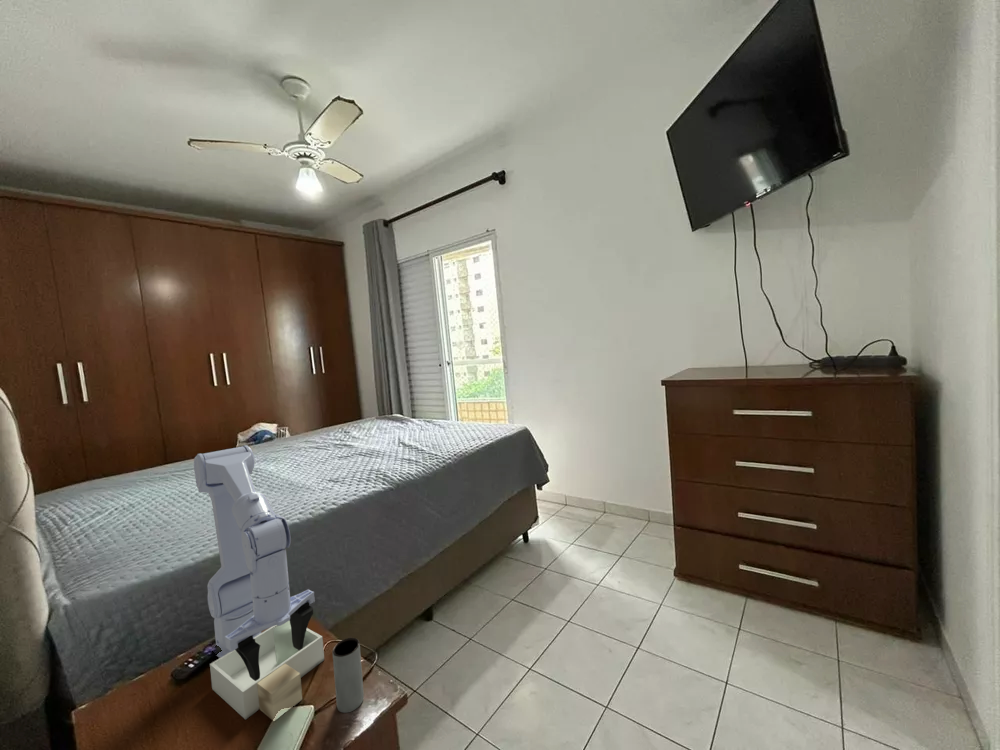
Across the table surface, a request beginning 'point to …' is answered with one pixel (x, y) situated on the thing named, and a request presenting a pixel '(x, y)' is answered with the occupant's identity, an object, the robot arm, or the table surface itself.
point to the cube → (279, 690)
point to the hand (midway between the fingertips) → (277, 661)
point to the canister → (283, 643)
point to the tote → (241, 688)
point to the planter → (348, 674)
